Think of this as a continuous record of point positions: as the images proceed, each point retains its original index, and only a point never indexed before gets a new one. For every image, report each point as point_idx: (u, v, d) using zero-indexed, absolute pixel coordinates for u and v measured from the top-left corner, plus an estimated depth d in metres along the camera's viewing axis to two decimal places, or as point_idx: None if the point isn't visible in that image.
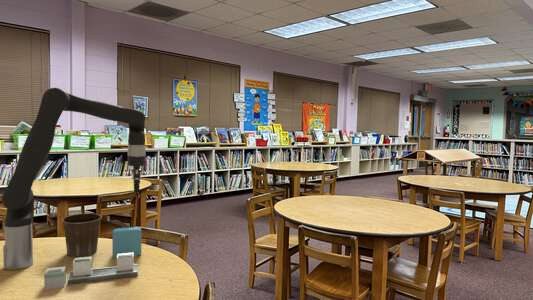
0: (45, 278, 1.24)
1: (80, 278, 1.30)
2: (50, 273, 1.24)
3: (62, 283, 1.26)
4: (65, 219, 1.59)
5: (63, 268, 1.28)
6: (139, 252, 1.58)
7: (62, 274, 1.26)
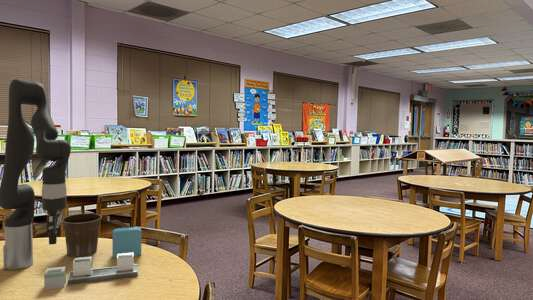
0: (45, 278, 1.24)
1: (80, 278, 1.30)
2: (50, 273, 1.24)
3: (62, 283, 1.26)
4: (65, 219, 1.59)
5: (63, 268, 1.28)
6: (139, 252, 1.58)
7: (62, 274, 1.26)
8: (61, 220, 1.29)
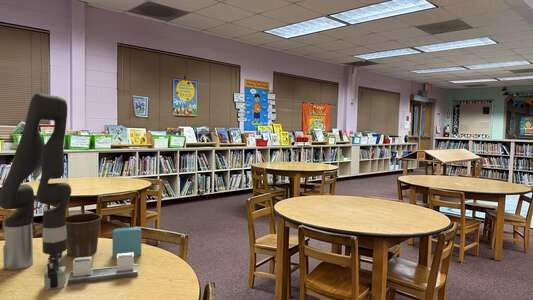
0: (45, 277, 1.24)
1: (80, 278, 1.30)
2: None
3: (62, 283, 1.26)
4: None
5: (63, 268, 1.28)
6: (139, 252, 1.58)
7: (62, 274, 1.26)
8: (61, 263, 1.29)
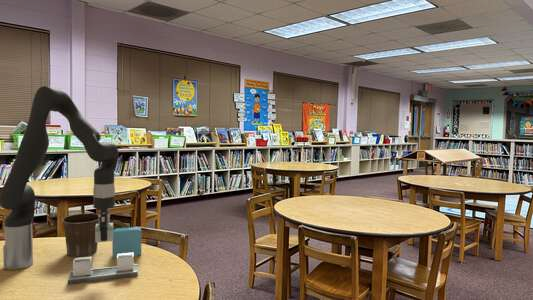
0: (96, 231, 1.32)
1: (80, 278, 1.30)
2: None
3: (111, 237, 1.34)
4: (65, 219, 1.59)
5: (111, 223, 1.36)
6: (139, 252, 1.58)
7: (111, 228, 1.34)
8: (109, 219, 1.37)
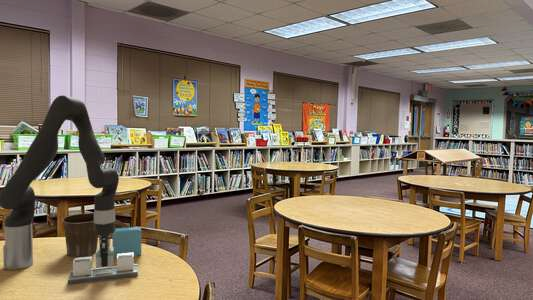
0: (97, 257, 1.33)
1: (80, 278, 1.30)
2: None
3: (112, 262, 1.35)
4: (65, 219, 1.59)
5: (112, 248, 1.37)
6: (139, 252, 1.58)
7: (112, 254, 1.35)
8: (109, 244, 1.38)
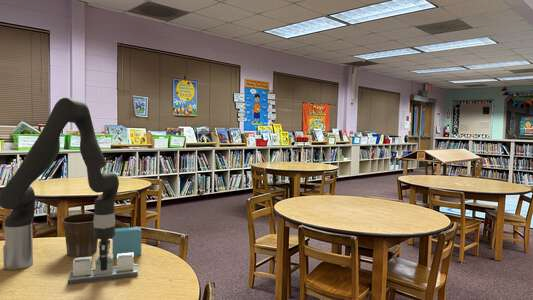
0: (96, 264, 1.33)
1: (80, 278, 1.30)
2: None
3: (111, 269, 1.35)
4: (65, 219, 1.59)
5: (111, 256, 1.37)
6: (139, 252, 1.58)
7: (111, 261, 1.35)
8: (109, 247, 1.38)
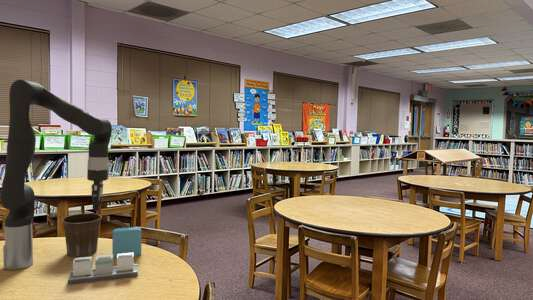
0: (96, 264, 1.33)
1: (80, 278, 1.30)
2: (100, 260, 1.33)
3: (111, 269, 1.35)
4: (65, 219, 1.59)
5: (111, 256, 1.37)
6: (139, 252, 1.58)
7: (111, 261, 1.35)
8: (102, 190, 1.44)
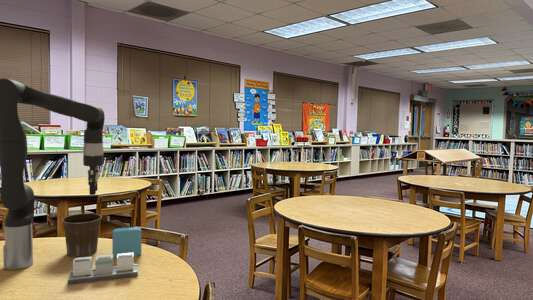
0: (96, 264, 1.33)
1: (80, 278, 1.30)
2: (100, 260, 1.33)
3: (111, 269, 1.35)
4: (65, 219, 1.59)
5: (111, 256, 1.37)
6: (139, 252, 1.58)
7: (111, 261, 1.35)
8: (98, 176, 1.49)
